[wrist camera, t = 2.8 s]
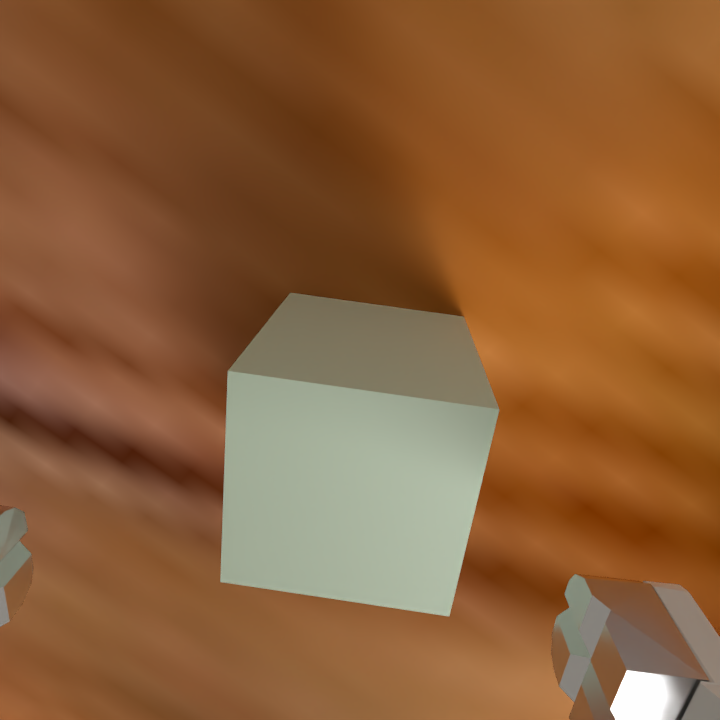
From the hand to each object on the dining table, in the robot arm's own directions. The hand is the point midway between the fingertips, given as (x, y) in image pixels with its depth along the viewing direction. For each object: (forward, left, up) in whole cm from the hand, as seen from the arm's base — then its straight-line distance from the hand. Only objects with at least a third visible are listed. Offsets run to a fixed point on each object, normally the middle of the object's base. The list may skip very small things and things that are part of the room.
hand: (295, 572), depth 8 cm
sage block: (-1, -1, -9) cm, 9 cm away
